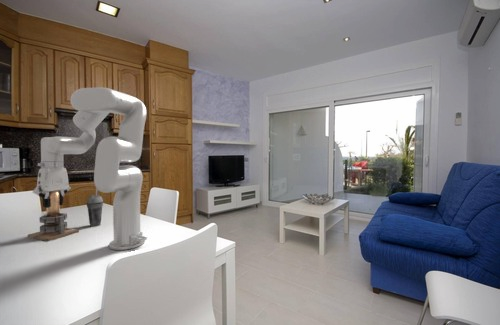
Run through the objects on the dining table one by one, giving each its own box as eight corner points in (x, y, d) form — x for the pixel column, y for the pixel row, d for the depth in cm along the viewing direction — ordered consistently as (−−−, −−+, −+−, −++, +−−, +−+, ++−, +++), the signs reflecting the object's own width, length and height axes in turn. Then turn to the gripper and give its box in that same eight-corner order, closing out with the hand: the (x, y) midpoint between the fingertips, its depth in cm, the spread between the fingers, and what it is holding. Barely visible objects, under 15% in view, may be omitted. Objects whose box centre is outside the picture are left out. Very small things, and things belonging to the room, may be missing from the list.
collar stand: (78, 232, 105) (78, 213, 105) (48, 241, 94) (48, 220, 94) (58, 228, 110) (58, 211, 110) (27, 236, 99) (27, 217, 99)
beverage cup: (83, 226, 114) (82, 186, 114) (98, 222, 121) (98, 184, 120) (91, 228, 111) (90, 187, 110) (106, 224, 117) (106, 185, 117)
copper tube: (62, 222, 103) (62, 183, 103) (50, 225, 99) (50, 184, 99) (55, 221, 105) (55, 182, 104) (44, 224, 101) (43, 184, 100)
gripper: (34, 166, 92) (35, 211, 93) (78, 164, 108) (78, 203, 108) (23, 165, 95) (24, 209, 95) (67, 164, 110) (68, 201, 111)
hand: (53, 205), depth 102 cm, fingers closed on copper tube, 4 cm apart
